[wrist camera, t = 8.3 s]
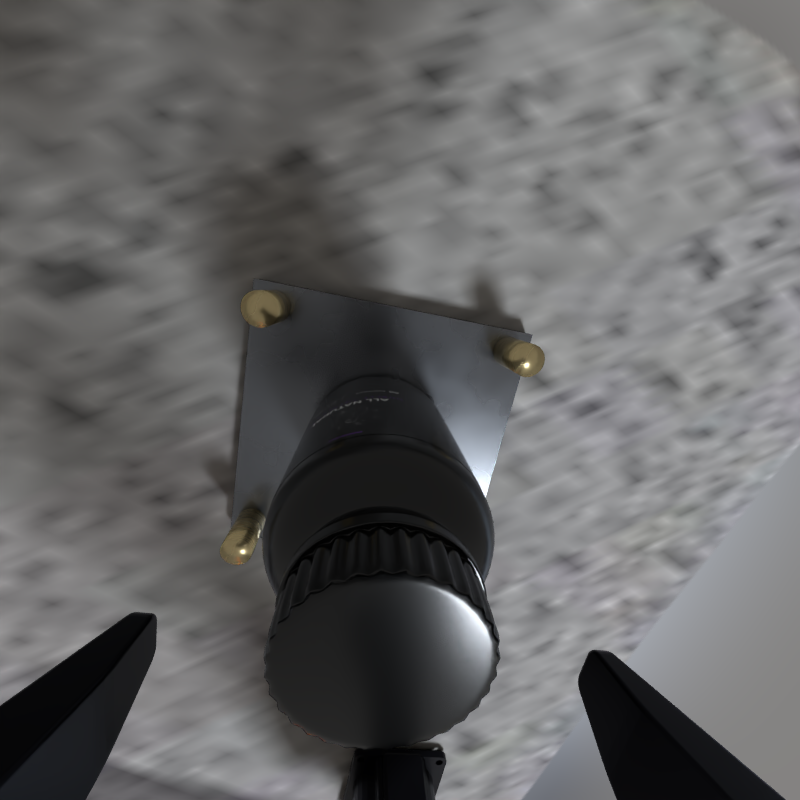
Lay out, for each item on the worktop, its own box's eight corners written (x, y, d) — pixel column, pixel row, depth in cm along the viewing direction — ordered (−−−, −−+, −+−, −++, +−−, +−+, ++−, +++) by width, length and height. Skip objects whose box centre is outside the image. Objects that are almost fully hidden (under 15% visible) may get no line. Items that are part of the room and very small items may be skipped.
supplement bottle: (357, 344, 18) (340, 444, 6) (470, 422, 19) (627, 618, 8) (279, 458, 19) (143, 721, 7) (392, 522, 20) (425, 822, 9)
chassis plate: (463, 551, 22) (479, 594, 19) (235, 525, 20) (211, 567, 17) (525, 333, 19) (557, 341, 16) (258, 278, 17) (234, 276, 14)
